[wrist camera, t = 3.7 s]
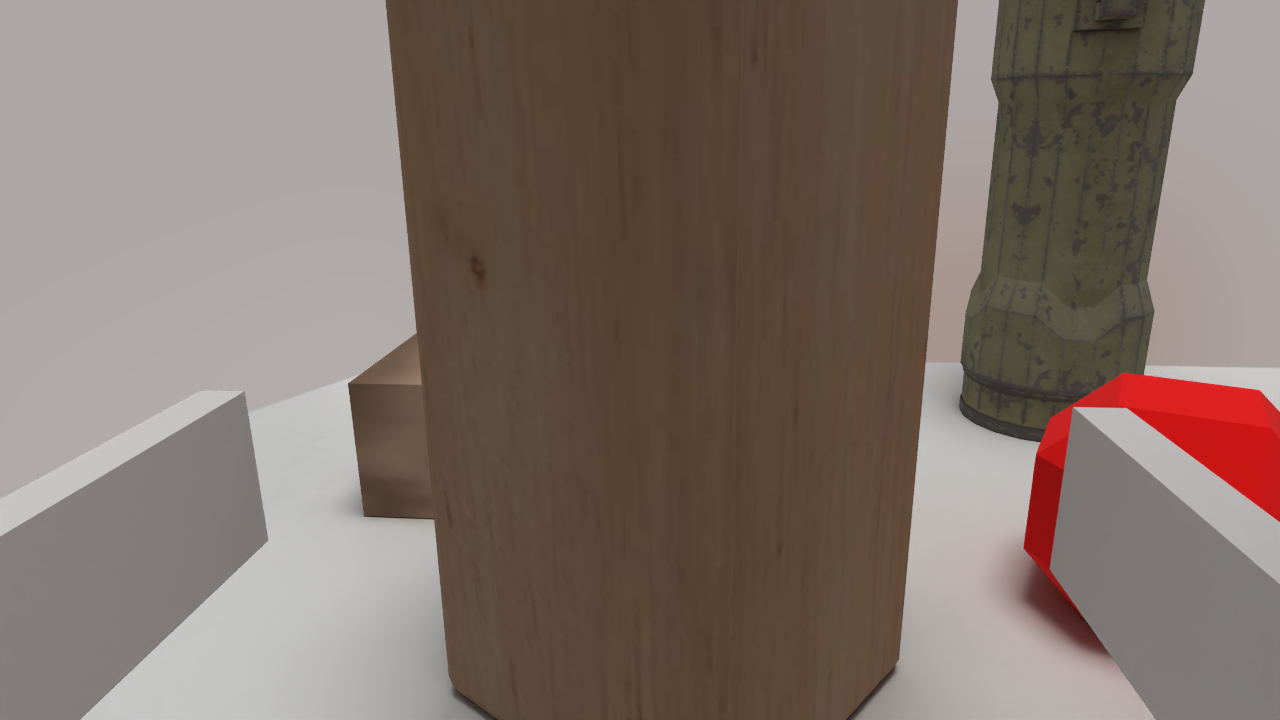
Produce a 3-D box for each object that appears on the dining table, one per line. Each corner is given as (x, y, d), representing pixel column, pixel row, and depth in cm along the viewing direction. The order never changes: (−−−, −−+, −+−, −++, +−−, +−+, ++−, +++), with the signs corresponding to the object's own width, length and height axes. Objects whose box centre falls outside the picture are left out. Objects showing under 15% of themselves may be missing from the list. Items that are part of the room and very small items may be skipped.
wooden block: (443, 690, 25) (372, -40, 19) (657, 558, 32) (653, -3, 26) (711, 883, 19) (726, -120, 13) (904, 665, 26) (970, -42, 20)
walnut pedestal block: (681, 415, 47) (681, 312, 45) (666, 526, 35) (665, 389, 33) (456, 410, 48) (448, 309, 46) (364, 515, 36) (347, 383, 34)
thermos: (1094, 384, 51) (1196, -290, 41) (1172, 461, 40) (1338, -437, 30) (942, 377, 53) (1005, -272, 43) (977, 450, 42) (1072, -404, 32)
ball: (1282, 584, 30) (1331, 382, 28) (1313, 719, 23) (1379, 468, 21) (1039, 530, 34) (1064, 350, 32) (1006, 632, 27) (1035, 414, 25)
